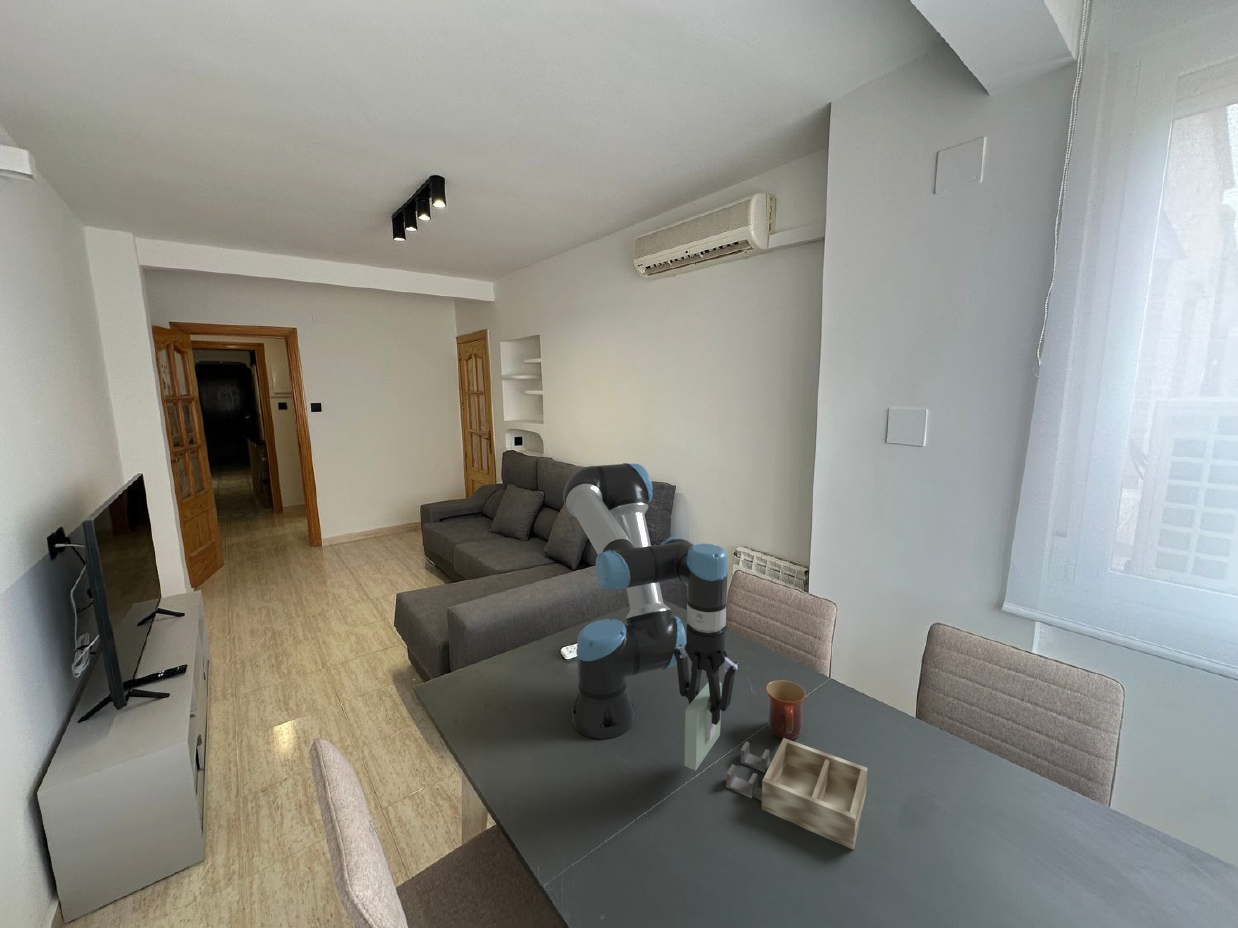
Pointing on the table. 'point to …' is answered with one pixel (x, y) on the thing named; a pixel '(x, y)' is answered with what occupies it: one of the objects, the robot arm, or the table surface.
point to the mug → (785, 708)
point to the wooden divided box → (807, 789)
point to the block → (698, 729)
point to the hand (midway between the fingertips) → (703, 732)
